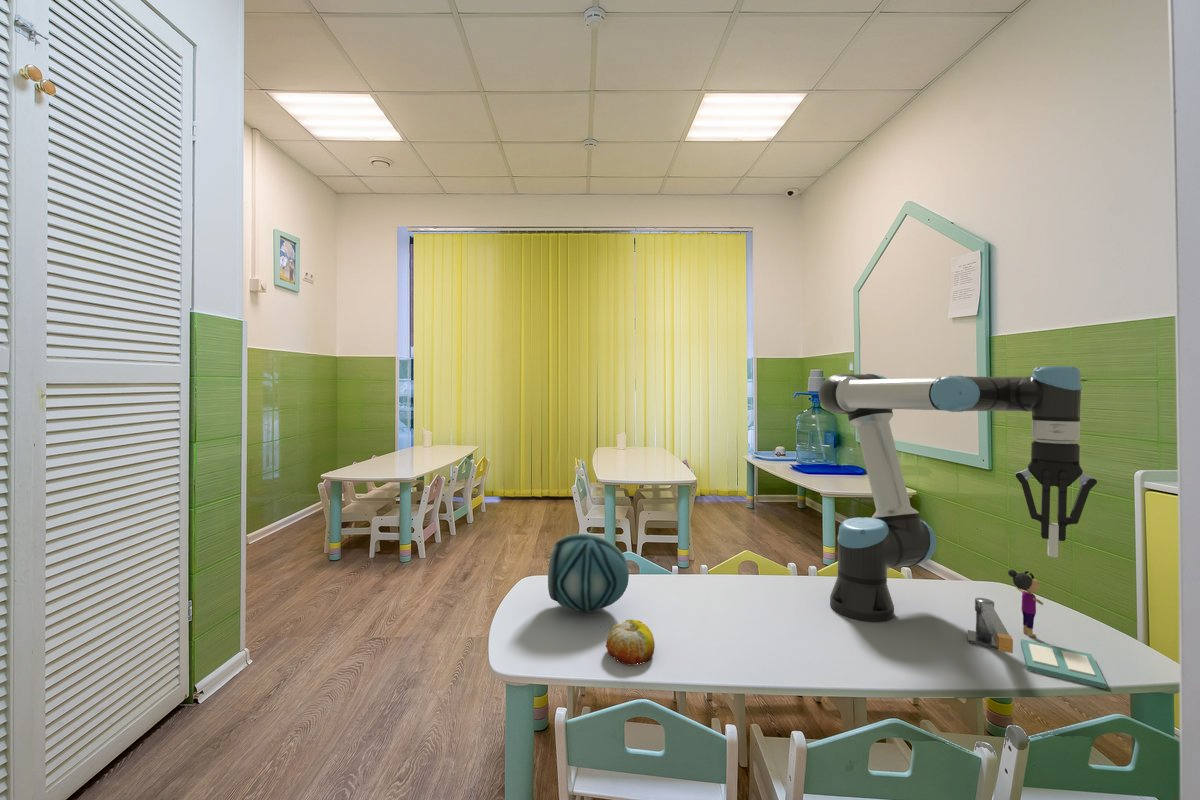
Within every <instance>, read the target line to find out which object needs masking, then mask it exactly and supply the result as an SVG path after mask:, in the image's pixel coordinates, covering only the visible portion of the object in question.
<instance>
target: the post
mask: <svg viewBox="0 0 1200 800" xmlns="http://www.w3.org/2000/svg"><path fill="white" fill-rule="evenodd" d="M975 617H976V618H975V631H974V630H970V629H967V643H968V644H971V645H975V646H979V647H983V648H987V649H993V650H997V651H999V650H998V648H997V646H996V643H995V641H994V639H993V637H992V635H991V633H990V631H989V629H988V627H987V625H986V623H985V621H984V619H983V617H982V615H981V614H980V613H979V612H977V611H975Z"/></svg>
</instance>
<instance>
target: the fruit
mask: <svg viewBox="0 0 1200 800" xmlns="http://www.w3.org/2000/svg"><path fill="white" fill-rule="evenodd" d="M605 643H606V644H605V647H606V650H607V653H608V654H609V656H610V657H611V658H612V657H615V658H614V659H615V660H616V661H617V660H618V661H620V662H619V663H622V662H623V664H624V663H625V665H627V664H637V663H638V664H640V663H642V664H644V663H643V662H645V663H647V662H649V661H650V660H651V659H652V657H653V656H654V653H655V649H656V646H655V645H656V644H655V639H654V635H653V632H652V631H651V629H650V628H649V626H648V625H646V624H645V623H643V621H641V620H638V619H626V620H625V621H623V622H621V623H617V624H614V625H613V626H612V628H611V629H610V631H609V634H608V636H607V638H606V642H605ZM618 661H617V662H618ZM640 665H641V664H640Z"/></svg>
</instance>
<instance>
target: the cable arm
mask: <svg viewBox="0 0 1200 800" xmlns="http://www.w3.org/2000/svg"><path fill="white" fill-rule="evenodd" d="M974 611H975V612H976V611H977V612H979V613H980V614H981V615H982V617H983V619H984V621H985V623H986V625H987V627H988V629H989V631H990V633H991V635H992V637H993V639H994V641H995V643H996V646H997V648H998V650H997V651H999V652H1004V653H1008V654H1013V652H1014V651H1013V650H1014V649H1013V647H1014V639H1013V636H1012V635H1011V634H1009V632H1008V630H1007V629H1006V627H1005V625H1004V624H1003V622H1002V619H1001V618H1000V616H999V614H998V613H997V612H996V611H997V610H995V602H994V601H993V600H992V599H988V598H985V597H975V598H974Z"/></svg>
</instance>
